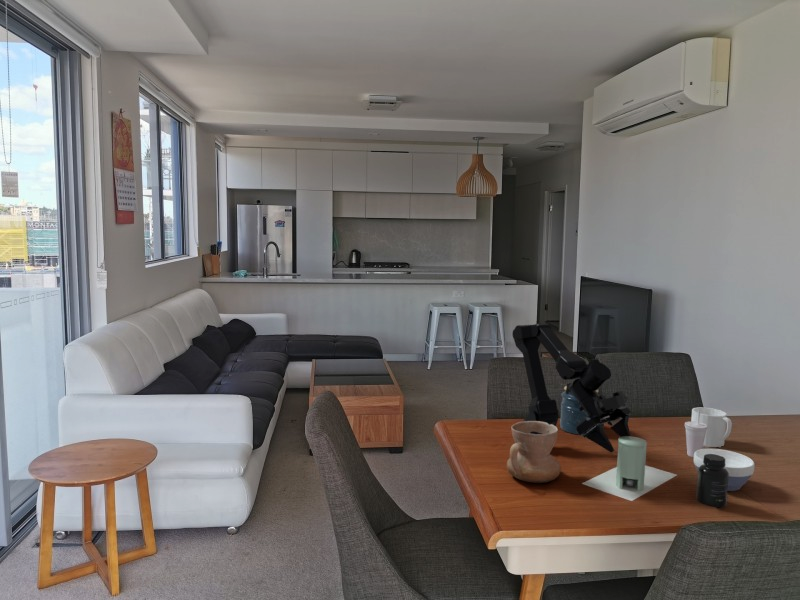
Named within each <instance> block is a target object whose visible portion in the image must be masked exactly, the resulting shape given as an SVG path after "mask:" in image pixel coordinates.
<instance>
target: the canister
mask: <svg viewBox="0 0 800 600" xmlns="http://www.w3.org/2000/svg"><path fill="white" fill-rule="evenodd" d="M566 388H567V385H565V386H564V387H563V389H564V391H563V392H561V397H562V400H561V401H562V402H560V420H559V425H560V429H561V430H562V431H564V432H567V433H569V434H573V435H579V434H578V433H577V431H576V425H577V424H579V423H580V422H581V421H582V420H584V419H585V418H586V417H588V416H587V414H586V413H585V411H582V412H581V411H580V410H579V408H580V407H581V405H580V404H579V402H578V401H577V399H576V398H575V397H574V395H573V394H572V393H569V394H566ZM596 392H597V393H598V394H599V389H598V390H596ZM585 435H586V434H585Z"/></svg>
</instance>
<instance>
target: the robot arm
mask: <svg viewBox="0 0 800 600" xmlns="http://www.w3.org/2000/svg"><path fill="white" fill-rule="evenodd" d="M512 337H513V338H512V339H513V341H514V344H515V346H516V348H517V349H518V351H520V353H521V354H522V356H523V363H524V367H525V372H526V378H527V380H528V381H527V383H528V386H529V391H530V396H531V400H530V403H529V404H528V405H529V406H528V414H527V416H525V418H523V420H522V422H524V421H526V422H527V421H539V422H545V423H548V424H549V425H551V424H552V425H554V426H556V427H557V423H558V421H559V417H560V416H559V409H558V406H557V401H556V399H555V398H554V399H552V398H551V397H550V396H549V394H548V391H547V385H546V381H545V375H544V371H543V367H542V363H541V357H540V353H539V349H540V347H541V344H542V346H543V347H544V349H545V350H546V351H547V353H548V354H549V355H550V356H551V358H552V359H553V361H554V362H555V369H556V371H557V373H558V375H559V377H560V378H561V379H562V380H565V381H569V380H573V381H572V382H570V383H567V384H566V386H567V388H566V394H569V393H572V394H573V395H574V397H575V398H576V399H577V401H578V402H579V404H580V405H581V407H580V408H579V410H580V411H581V412H582V411H585V413H586V414H587V416H588V417H586V418H585V419H584V420H582V421H581V422H580V423H579V424H577V425H576V431H577V433H578V434H577V435H578V436H579V437H581V436H583V438H584V439H587V440H590V441H591V442H592V443H593V442H594V443H595V444H597V445H598V446H599V447H602V448H603V449H605V450H606V451H608V452H609V453H614V452H615V449H614V447H613V445H612V443H611V441H610V439H609V438H608V436H607V434H606V432H605V424H608V425H609V426H611V427H610V429H611V430H612V431H613V432H614V433H615V434H616V435H617V436H618V437H623V436H631V437H632V434H631V431H630V427H629V424H628V423H629V420H630V418H631V415H632V412H631V410H630V409H629V407H627V404H626V402H627V400H628V397H627V396H626V395H625V393H623V391H621V390H620V391H616V392H613V394H612V396H611V397H608V398H607V397H606V396H605V395H604V394H601V395H599V392H598V393H597V392H596V390H599V389H600V388H601V387H602V386H604V384H606V383H607V382H608V381H609V380H610V378H611V377H612V376H611V375H612V372H611V369H610V368H609V367H608V366H606V365H605V364H604V363H602V362H600V361H599V359H596V358H592V359H591V360H590V361H589V362H588V363H587V362H586V361H585V359H584V358H582V357H581V356H580V355H578V354H576V353H574V352H572V351H570V350H569V349H568V348H567V346H566V345H565V344H564V343H563V342H562V341H561V339H560V338H559V337H558V336H557V335H556V333H555V332H554V331H553V330H552V327H551V325H550V324H548V323H546V322H545V323H534V324H521V325H520V324H519V325H516V326H515V327H514V329H513V330H512ZM530 433H531V434H535V435H536V434H541V433H538V432H534V431H533V432H530ZM585 434H586V435H585Z"/></svg>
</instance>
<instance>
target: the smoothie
mask: <svg viewBox="0 0 800 600" xmlns="http://www.w3.org/2000/svg"><path fill="white" fill-rule="evenodd" d="M699 420H700V411H698V420H697V422H691V421H685V422H684V427H685V437H686V438H685V439H686V440H685V441H686V452H687V456H688V457H690V458H694V453H695V452H696V451H697V450H700V449H704V446H703V443H704V439H705V434H706V430H707V428H708V426H707V425H706V424H703V423H700V422H699Z"/></svg>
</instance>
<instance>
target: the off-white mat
mask: <svg viewBox="0 0 800 600" xmlns="http://www.w3.org/2000/svg"><path fill="white" fill-rule="evenodd" d="M616 474H617V466H616V467H613V468H611V469H609V470H607V471H605V472H603V473H601V474H598V475H597V476H594V477H593V478H589V480H586V481H585V482H582V483H581V484H582V485H584V486H588V487H589V488H593V489H596V490H598V491H601V492H604V493H607V494H610V495H612V496H616V497H619V498H622V499H625V500H627V501H631V502H633V501H635V500H636V499H638V498H640V497H641V496H644V495H645V494H647V493H649V492H651V491H652V490H654V489H656V488H657V487H659V486H661V485H663V484H664V483H666V482H668V481H670V480H672V479H673V478H675V477H677V476H678V474H676V473H673V472H669V471H665V470H662V469H658V468H656V467H653V466H648V465H646V464H645V476H644V490H643V491H640V492H639V491H637V487H638V485H636V484H635V486H633V487H628V486H626V485H625V483H622V489H619V488H618V487H617V486H616Z"/></svg>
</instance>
